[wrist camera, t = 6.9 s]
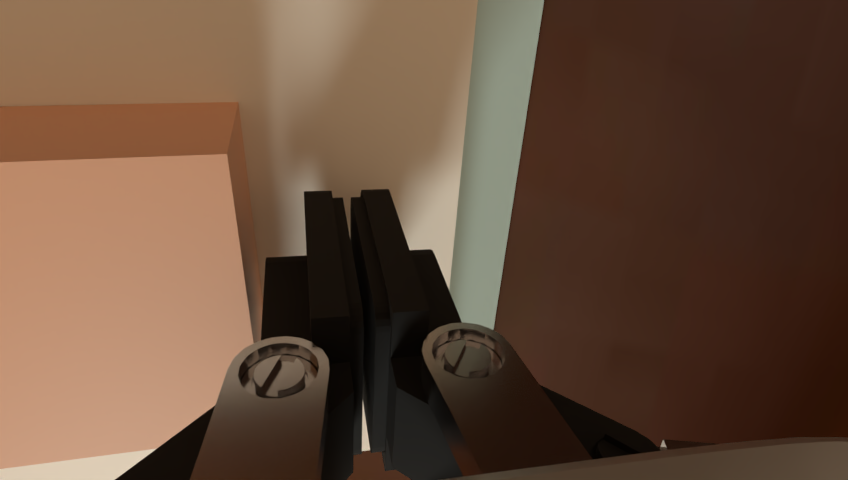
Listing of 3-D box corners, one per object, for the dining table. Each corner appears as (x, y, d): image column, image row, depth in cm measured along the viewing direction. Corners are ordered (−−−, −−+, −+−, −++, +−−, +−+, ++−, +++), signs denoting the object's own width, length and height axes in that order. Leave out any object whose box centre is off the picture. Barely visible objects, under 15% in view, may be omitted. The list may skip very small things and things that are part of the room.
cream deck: (464, -136, 11) (492, -140, 9) (422, 397, 18) (434, 441, 16) (-329, -201, 8) (-455, -219, 7) (-12, 446, 16) (-42, 502, 14)
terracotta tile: (238, 101, 11) (227, 154, 8) (269, 350, 14) (266, 434, 11) (-298, 112, 9) (-476, 179, 7) (-126, 391, 12) (-213, 497, 10)
